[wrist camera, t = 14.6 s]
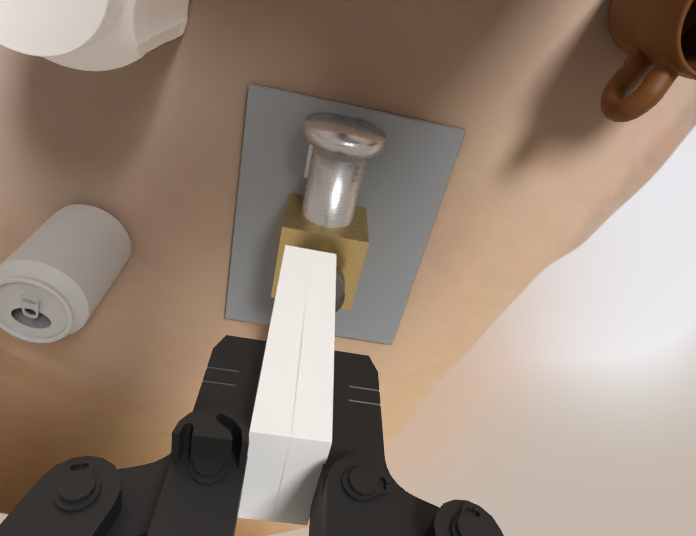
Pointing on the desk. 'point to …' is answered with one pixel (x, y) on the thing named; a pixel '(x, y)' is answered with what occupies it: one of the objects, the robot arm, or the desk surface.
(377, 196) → the mat
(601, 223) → the desk surface
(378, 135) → the valve
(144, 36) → the jar
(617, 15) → the mug
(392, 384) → the desk surface
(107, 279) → the can
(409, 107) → the desk surface
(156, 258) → the desk surface
